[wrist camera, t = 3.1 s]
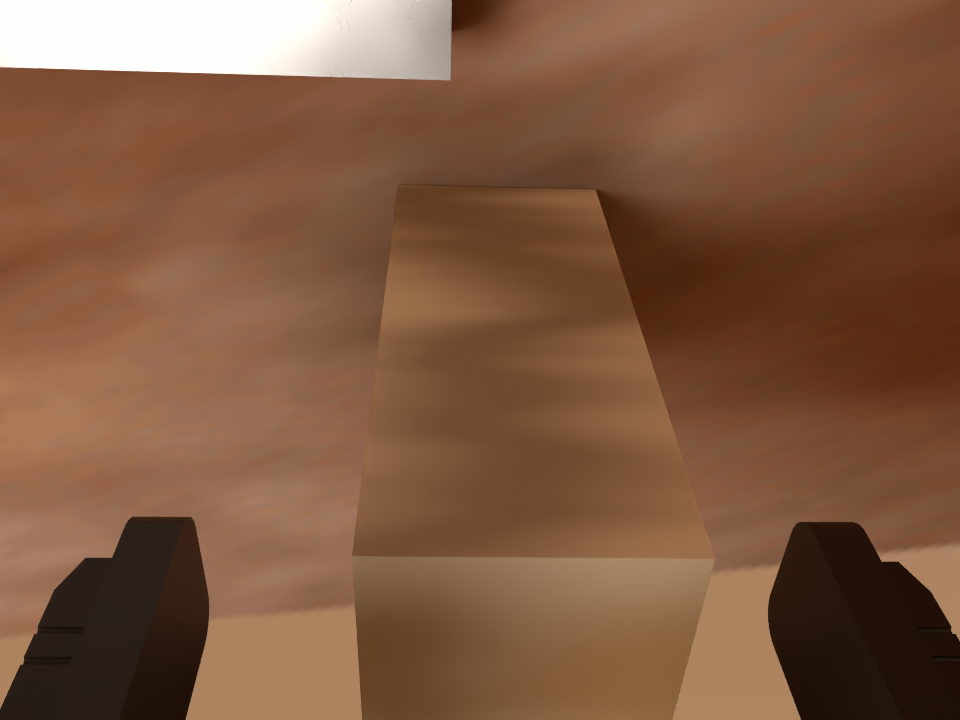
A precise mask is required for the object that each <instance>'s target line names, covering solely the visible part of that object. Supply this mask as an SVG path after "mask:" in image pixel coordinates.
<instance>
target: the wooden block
mask: <svg viewBox="0 0 960 720" xmlns="http://www.w3.org/2000/svg"><path fill="white" fill-rule="evenodd" d="M714 561H715V557H714V554H713V551H712V548H711V544H710V541H709V538H708V535H707V532H706V529H705V526H704V523H703V520H702V517H701V514H700V510H699V507H698V504H697V501H696V498H695V495H694V492H693V489H692V486H691V483H690V480H689V476H688V473H687V470H686V467H685V464H684V461H683V458H682V455H681V452H680V449H679V446H678V443H677V439H676V436H675V433H674V430H673V427H672V424H671V421H670V418H669V415H668V412H667V409H666V405H665V402H664V399H663V396H662V393H661V390H660V387H659V384H658V381H657V378H656V375H655V372H654V368H653V365H652V362H651V359H650V356H649V353H648V350H647V347H646V344H645V341H644V338H643V334H642V331H641V328H640V325H639V322H638V319H637V316H636V313H635V310H634V307H633V304H632V300H631V297H630V294H629V291H628V288H627V285H626V282H625V279H624V276H623V273H622V270H621V267H620V263H619V260H618V257H617V254H616V251H615V248H614V245H613V242H612V239H611V236H610V233H609V229H608V226H607V223H606V220H605V217H604V214H603V211H602V208H601V205H600V202H599V199H598V195H597V192H596V189H556V188H515V187H475V186H434V185H398V189H397V197H396V205H395V213H394V222H393V230H392V238H391V246H390V254H389V262H388V270H387V278H386V286H385V294H384V302H383V311H382V319H381V327H380V335H379V343H378V351H377V359H376V367H375V375H374V383H373V391H372V400H371V408H370V416H369V424H368V432H367V440H366V448H365V456H364V464H363V472H362V480H361V489H360V497H359V505H358V513H357V521H356V529H355V537H354V545H353V553H352V562H353V578H354V594H355V610H356V626H357V642H358V658H359V674H360V690H361V707H362V720H672V718H673V714H674V711H675V707H676V703H677V700H678V695H679V692H680V688H681V685H682V681H683V677H684V673H685V669H686V666H687V662H688V658H689V655H690V651H691V647H692V643H693V640H694V636H695V632H696V629H697V624H698V621H699V617H700V613H701V610H702V606H703V602H704V599H705V595H706V591H707V588H708V583H709V580H710V576H711V573H712V569H713V565H714Z"/></svg>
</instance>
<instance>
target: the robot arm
mask: <svg viewBox="0 0 960 720" xmlns="http://www.w3.org/2000/svg"><path fill="white" fill-rule="evenodd" d="M208 621H209V596H208V590H207V585H206V579H205V574H204V569H203V563H202V558H201V553H200V548H199V542H198V537H197V532H196V527H195V523H194V521H193V519H192V518H191V517H132V518H130V519H129V520H128V522H127V523H126V525H125V528H124V530H123V532H122V535H121V537H120V540H119V542H118V545H117V547H116V550H115V552H114V555H113V557H112V558H85V559H84V560H83V561H82V562H81V563H80V564H79V565H78V566H77V567H76V568H75V569H74V570H73V571H72V572H71V573H70V574H69V575H68V576H67V578H66V579H65V580H64V581H63V582H62V583H61V584H60V585H59V586H58V587H57V588H56V589H55V590H54V592H53V594H52V596H51V599H50V601H49V603H48V605H47V607H46V610H45V612H44V614H43V616H42V618H41V621H40V623H39V625H38V632H37V634H34V636H33V638H32V640H31V643H30V645H29V647H28V649H27V652H26V654H25V656H24V663H23V665H20V667H19V669H18V671H17V673H16V676H15V678H14V680H13V682H12V685H11V687H10V689H9V691H8V693H7V696H6V698H5V700H4V702H3V704H2V707H1V709H0V720H186V715H187V712H188V707H189V704H190V700H191V696H192V692H193V689H194V685H195V681H196V677H197V673H198V669H199V665H200V662H201V658H202V654H203V650H204V646H205V641H206V637H207V630H208ZM768 622H769V629H770V635H771V639H772V642H773V646H774V648H775V651H776V654H777V656H778V659H779V662H780V664H781V667H782V670H783V672H784V675H785V678H786V680H787V683H788V686H789V688H790V691H791V693H792V696H793V699H794V702H795V704H796V707H797V710H798V712H799V715H800V718H801V720H960V641H959V639H958V637H957V636H956V634H952V632H951V626H950V624H949V622H948V620H947V619H946V617H945V615H944V614H943V612H942V610H941V608H940V607H939V605H938V603H937V601H936V600H935V598H934V596H933V595H932V593H931V592H930V591H929V590H928V589H927V588H926V587H925V586H924V585H923V584H921V582H920V581H918V580H917V579H916V578H915V577H914V576H913V575H912V574H911V573H910V572H909V571H908V570H907V569H905V568H904V567H903V566H902V565H901V564H900V563H899V562H881V560H880V558H879V556H878V554H877V552H876V550H875V549H874V547H873V545H872V543H871V541H870V539H869V538H868V536H867V534H866V532H865V531H864V529H863V528H862V527H861V526H860V525H859V524H857V523H855V522H799V523H797V524H796V525H795V527H794V528H793V530H792V533H791V536H790V538H789V541H788V544H787V547H786V550H785V553H784V556H783V559H782V562H781V565H780V568H779V571H778V574H777V577H776V580H775V583H774V586H773V589H772V591H771V594H770V599H769V605H768Z"/></svg>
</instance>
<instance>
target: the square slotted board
mask: <svg viewBox="0 0 960 720" xmlns="http://www.w3.org/2000/svg"><path fill="white" fill-rule="evenodd" d="M451 20H452V0H0V67H20V68H54V69H88V70H121V71H155V72H189V73H223V74H256V75H290V76H324V77H357V78H391V79H425V80H450V73H451Z"/></svg>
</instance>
